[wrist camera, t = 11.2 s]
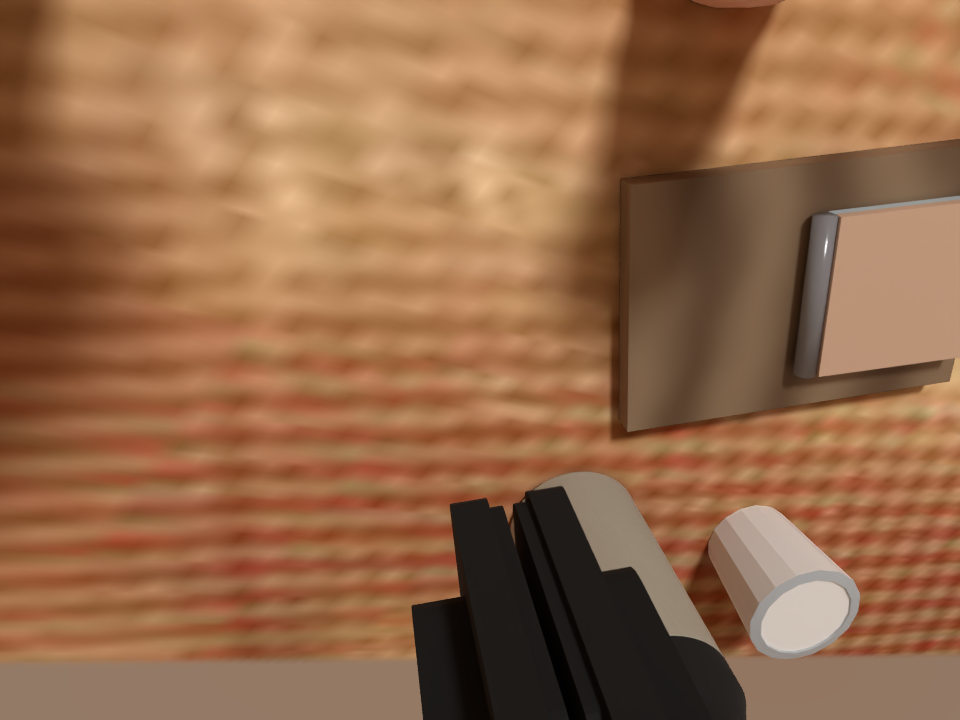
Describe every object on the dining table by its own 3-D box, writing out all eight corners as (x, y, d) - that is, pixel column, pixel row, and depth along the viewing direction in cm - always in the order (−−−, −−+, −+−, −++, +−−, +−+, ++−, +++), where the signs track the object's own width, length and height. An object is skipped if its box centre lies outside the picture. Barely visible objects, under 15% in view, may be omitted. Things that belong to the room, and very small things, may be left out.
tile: (970, 356, 41) (955, 347, 42) (1008, 197, 37) (991, 191, 38) (799, 379, 40) (788, 369, 41) (820, 219, 36) (807, 213, 37)
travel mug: (518, 468, 43) (617, 738, 27) (644, 468, 45) (809, 724, 29) (501, 573, 47) (582, 870, 30) (619, 570, 48) (755, 851, 32)
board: (618, 418, 43) (627, 431, 41) (620, 179, 37) (630, 185, 35) (931, 370, 45) (949, 381, 44) (983, 136, 39) (1005, 140, 37)
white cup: (788, 482, 47) (855, 554, 41) (802, 556, 50) (867, 634, 44) (688, 521, 47) (740, 599, 41) (709, 593, 50) (760, 676, 44)
